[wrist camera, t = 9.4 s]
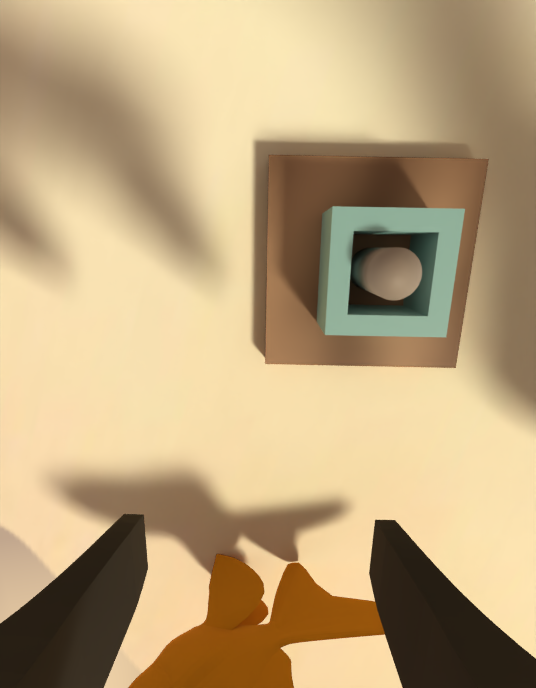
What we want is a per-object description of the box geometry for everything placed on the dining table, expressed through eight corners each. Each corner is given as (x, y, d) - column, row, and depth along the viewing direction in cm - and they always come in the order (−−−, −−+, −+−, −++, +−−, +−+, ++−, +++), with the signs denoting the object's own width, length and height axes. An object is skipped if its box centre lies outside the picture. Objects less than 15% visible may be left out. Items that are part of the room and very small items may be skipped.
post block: (476, 163, 17) (554, 131, 13) (446, 362, 20) (502, 398, 15) (269, 160, 18) (268, 126, 13) (265, 358, 20) (263, 393, 15)
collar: (432, 215, 17) (464, 208, 14) (418, 323, 18) (446, 337, 16) (322, 213, 17) (332, 206, 14) (316, 321, 18) (325, 335, 16)
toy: (94, 611, 21) (91, 867, 12) (325, 502, 27) (439, 618, 18) (105, 645, 21) (111, 912, 12) (328, 532, 27) (440, 658, 18)
